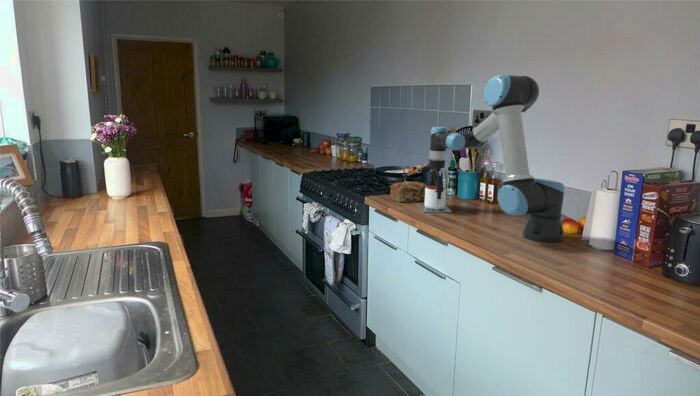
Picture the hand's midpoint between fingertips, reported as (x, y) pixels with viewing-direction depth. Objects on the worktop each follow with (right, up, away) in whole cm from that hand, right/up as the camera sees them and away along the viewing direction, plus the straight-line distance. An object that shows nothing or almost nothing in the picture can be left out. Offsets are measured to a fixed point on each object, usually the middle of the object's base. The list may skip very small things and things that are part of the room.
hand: (434, 202), depth 230 cm
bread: (-10, +1, +22) cm, 24 cm away
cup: (0, -3, +1) cm, 3 cm away
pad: (0, -3, +1) cm, 4 cm away
